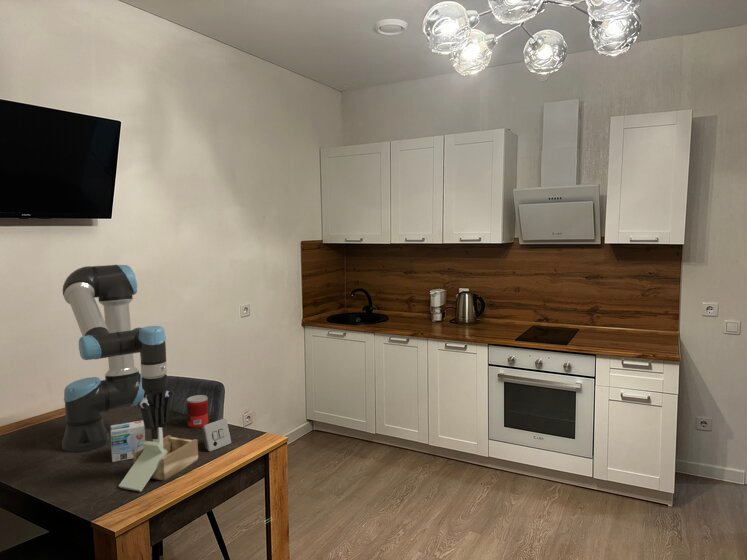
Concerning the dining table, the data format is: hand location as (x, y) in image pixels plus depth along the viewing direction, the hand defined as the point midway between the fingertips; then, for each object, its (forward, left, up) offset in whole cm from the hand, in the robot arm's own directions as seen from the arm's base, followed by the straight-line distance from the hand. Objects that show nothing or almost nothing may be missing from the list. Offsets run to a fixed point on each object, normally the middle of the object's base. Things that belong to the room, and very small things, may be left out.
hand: (158, 447), depth 168 cm
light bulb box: (-19, +7, -9) cm, 22 cm away
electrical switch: (+5, +23, -9) cm, 25 cm away
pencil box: (0, +4, -8) cm, 9 cm away
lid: (0, -6, -5) cm, 8 cm away
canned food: (-15, +38, -9) cm, 41 cm away
